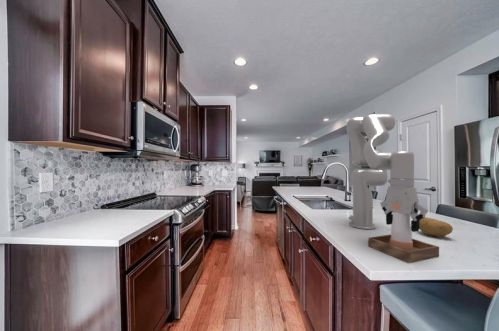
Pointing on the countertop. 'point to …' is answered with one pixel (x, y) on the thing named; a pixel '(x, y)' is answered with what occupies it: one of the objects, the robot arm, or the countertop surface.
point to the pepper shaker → (401, 230)
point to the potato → (434, 227)
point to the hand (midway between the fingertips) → (401, 227)
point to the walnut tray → (417, 254)
